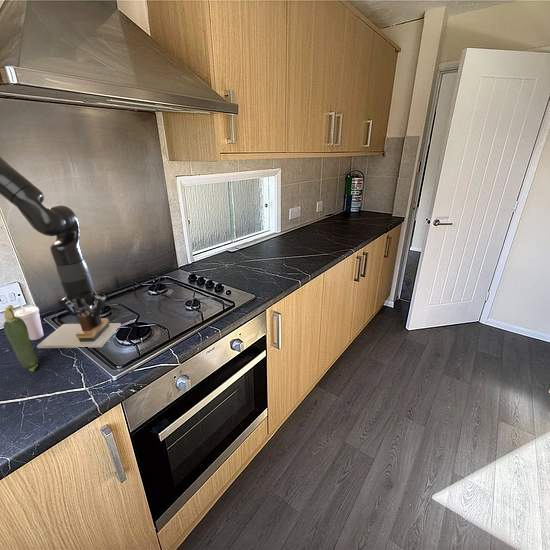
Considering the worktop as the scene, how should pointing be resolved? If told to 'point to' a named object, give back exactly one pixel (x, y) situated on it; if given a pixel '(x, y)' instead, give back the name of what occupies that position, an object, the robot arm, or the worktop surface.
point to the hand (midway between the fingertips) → (92, 325)
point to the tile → (75, 337)
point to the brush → (90, 328)
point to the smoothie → (31, 320)
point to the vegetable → (19, 339)
